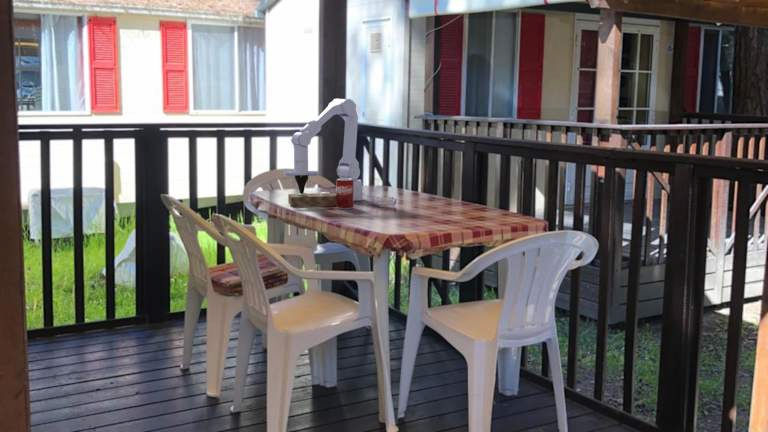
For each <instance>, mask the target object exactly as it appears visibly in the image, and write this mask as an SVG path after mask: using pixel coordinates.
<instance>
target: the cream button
mask: <svg viewBox="0 0 768 432" xmlns="http://www.w3.org/2000/svg"><path fill="white" fill-rule="evenodd" d="M319 193H320V194H319V195H320V196H326V195H331V194H330V193H331V192H329V191H320V192H319Z"/></svg>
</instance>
